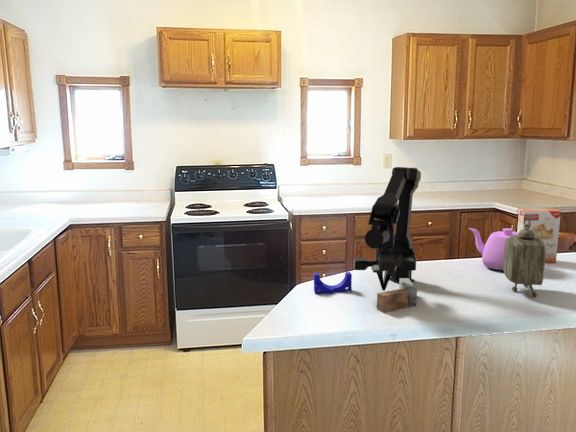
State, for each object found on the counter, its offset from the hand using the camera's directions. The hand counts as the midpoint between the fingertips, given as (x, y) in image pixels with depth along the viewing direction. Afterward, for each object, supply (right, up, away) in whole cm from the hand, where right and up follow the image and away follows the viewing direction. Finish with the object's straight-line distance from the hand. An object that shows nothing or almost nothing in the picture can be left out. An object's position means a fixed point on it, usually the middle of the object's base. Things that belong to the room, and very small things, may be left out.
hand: (383, 290), depth 163 cm
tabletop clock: (+45, -1, +5) cm, 46 cm away
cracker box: (+68, +5, +42) cm, 80 cm away
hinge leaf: (+7, -2, -2) cm, 8 cm away
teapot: (+52, +4, +34) cm, 62 cm away
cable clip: (-15, -2, +6) cm, 17 cm away
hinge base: (+3, -4, -9) cm, 10 cm away
